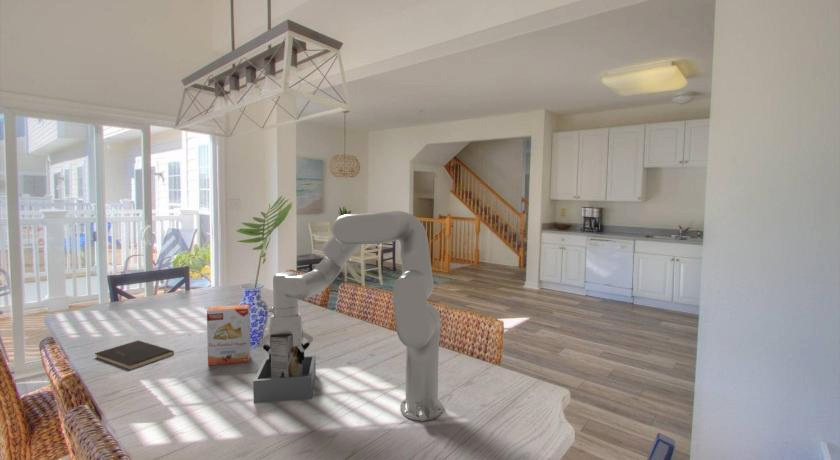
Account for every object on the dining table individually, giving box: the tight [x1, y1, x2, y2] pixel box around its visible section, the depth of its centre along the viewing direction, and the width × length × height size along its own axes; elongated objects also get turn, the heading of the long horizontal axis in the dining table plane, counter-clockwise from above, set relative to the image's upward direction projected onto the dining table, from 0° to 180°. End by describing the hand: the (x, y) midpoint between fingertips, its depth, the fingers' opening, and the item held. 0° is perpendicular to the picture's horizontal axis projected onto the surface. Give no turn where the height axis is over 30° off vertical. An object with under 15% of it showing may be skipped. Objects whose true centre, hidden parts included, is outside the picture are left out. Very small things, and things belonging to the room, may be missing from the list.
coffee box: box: [270, 334, 303, 378], centre depth 131 cm, size 9×6×16 cm
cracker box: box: [206, 304, 251, 366], centre depth 151 cm, size 14×6×21 cm, turn 106°
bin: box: [252, 355, 317, 404], centre depth 131 cm, size 17×17×7 cm
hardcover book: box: [94, 340, 175, 370], centre depth 156 cm, size 16×23×2 cm
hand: (287, 363), depth 131 cm, fingers closed on coffee box, 8 cm apart
